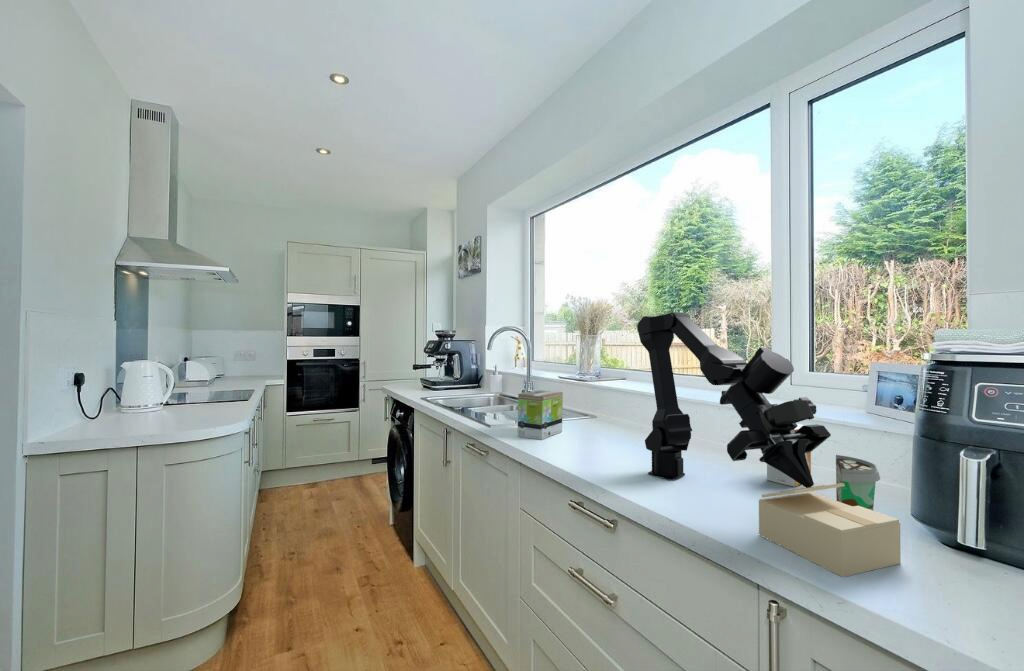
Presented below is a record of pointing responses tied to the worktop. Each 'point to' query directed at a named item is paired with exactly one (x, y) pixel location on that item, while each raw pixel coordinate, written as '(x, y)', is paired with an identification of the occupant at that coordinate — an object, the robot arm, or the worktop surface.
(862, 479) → the food container
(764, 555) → the worktop surface
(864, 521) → the carton
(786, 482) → the small box
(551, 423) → the tea box
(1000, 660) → the worktop surface
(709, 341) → the robot arm
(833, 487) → the lid flap
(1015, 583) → the worktop surface
